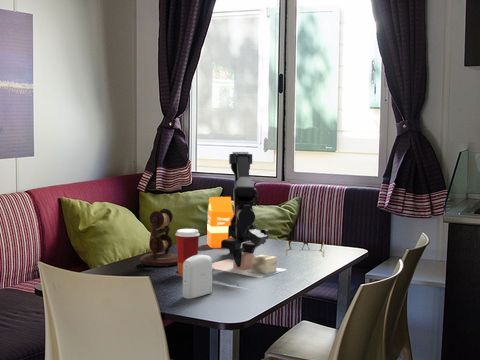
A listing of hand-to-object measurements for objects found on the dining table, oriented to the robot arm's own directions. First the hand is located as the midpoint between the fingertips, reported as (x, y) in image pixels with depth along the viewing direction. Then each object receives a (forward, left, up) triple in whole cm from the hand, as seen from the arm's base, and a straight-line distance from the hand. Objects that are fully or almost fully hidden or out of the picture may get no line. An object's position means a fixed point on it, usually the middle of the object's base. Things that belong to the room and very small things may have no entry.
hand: (243, 265), depth 261 cm
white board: (0, 0, -2) cm, 2 cm away
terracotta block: (0, 0, -1) cm, 1 cm away
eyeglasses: (-1, +42, -2) cm, 42 cm away
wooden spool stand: (-27, -13, -2) cm, 30 cm away
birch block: (+9, 0, -1) cm, 9 cm away
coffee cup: (-11, -17, -2) cm, 20 cm away
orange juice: (-35, +30, -2) cm, 46 cm away
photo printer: (+10, -36, -2) cm, 37 cm away
